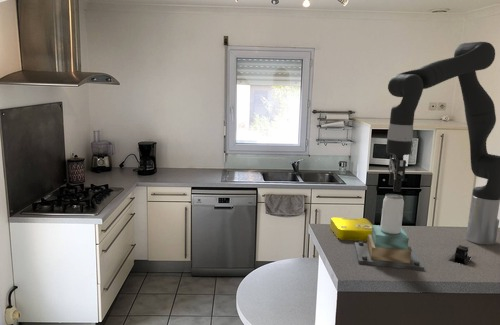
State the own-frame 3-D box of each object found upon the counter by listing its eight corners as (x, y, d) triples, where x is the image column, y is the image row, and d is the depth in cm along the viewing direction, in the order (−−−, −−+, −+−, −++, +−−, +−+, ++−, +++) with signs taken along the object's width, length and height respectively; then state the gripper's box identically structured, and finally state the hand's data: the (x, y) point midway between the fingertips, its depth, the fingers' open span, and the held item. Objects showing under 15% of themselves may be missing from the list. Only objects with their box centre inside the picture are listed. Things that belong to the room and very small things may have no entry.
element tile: (365, 228, 167) (366, 216, 166) (378, 242, 152) (379, 229, 151) (328, 227, 166) (329, 215, 165) (338, 240, 151) (339, 228, 151)
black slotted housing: (467, 269, 132) (469, 255, 131) (443, 262, 137) (445, 249, 136) (476, 258, 141) (478, 245, 141) (454, 252, 146) (455, 239, 145)
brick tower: (412, 250, 144) (416, 226, 142) (424, 270, 128) (427, 243, 127) (354, 244, 147) (356, 220, 145) (358, 263, 132) (361, 236, 130)
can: (401, 229, 138) (405, 195, 135) (400, 236, 132) (404, 200, 130) (381, 226, 140) (384, 192, 138) (379, 232, 134) (382, 197, 132)
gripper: (417, 142, 123) (411, 194, 126) (407, 136, 137) (402, 184, 140) (391, 140, 124) (385, 192, 127) (384, 135, 138) (379, 182, 141)
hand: (394, 188), depth 133 cm, fingers open, 8 cm apart
